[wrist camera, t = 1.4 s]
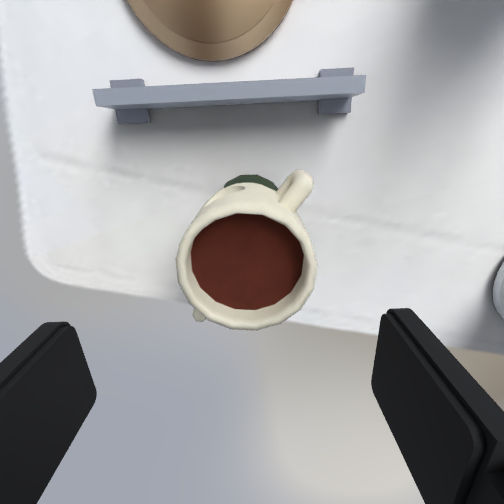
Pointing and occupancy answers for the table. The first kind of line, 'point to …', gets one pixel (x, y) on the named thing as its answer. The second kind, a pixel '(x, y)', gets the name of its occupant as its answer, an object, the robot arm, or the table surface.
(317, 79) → the grey cabinet handle
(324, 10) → the table surface
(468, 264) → the table surface
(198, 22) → the coaster
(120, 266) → the table surface
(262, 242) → the character mug
